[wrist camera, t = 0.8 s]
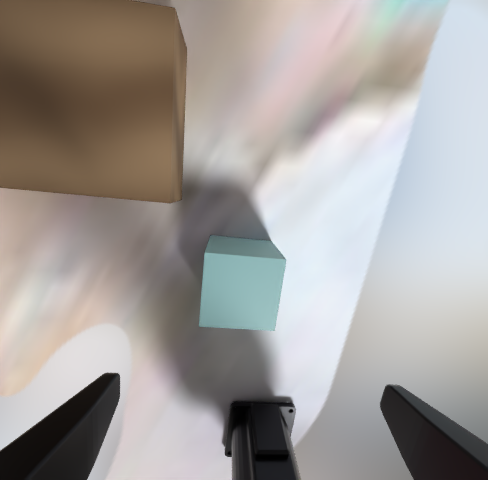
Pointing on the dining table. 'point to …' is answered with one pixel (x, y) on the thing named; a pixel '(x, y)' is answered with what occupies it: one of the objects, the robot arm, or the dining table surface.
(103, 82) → the walnut block
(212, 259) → the teal cube
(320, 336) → the dining table surface
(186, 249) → the dining table surface
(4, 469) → the robot arm
